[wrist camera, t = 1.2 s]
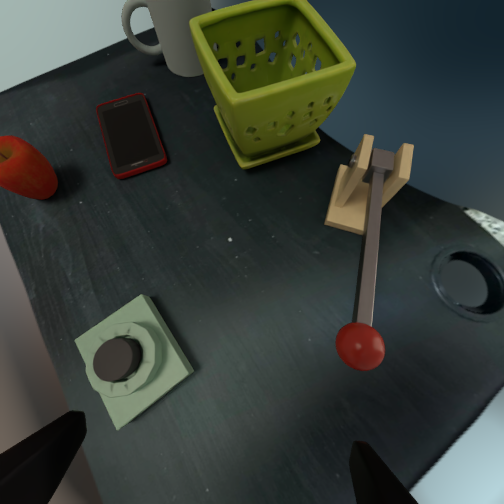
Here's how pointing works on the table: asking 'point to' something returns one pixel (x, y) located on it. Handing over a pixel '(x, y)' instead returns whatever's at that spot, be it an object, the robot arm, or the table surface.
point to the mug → (170, 32)
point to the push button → (116, 359)
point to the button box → (151, 364)
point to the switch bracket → (363, 186)
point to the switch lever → (367, 275)
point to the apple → (25, 169)
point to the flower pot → (271, 76)
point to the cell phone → (130, 136)
